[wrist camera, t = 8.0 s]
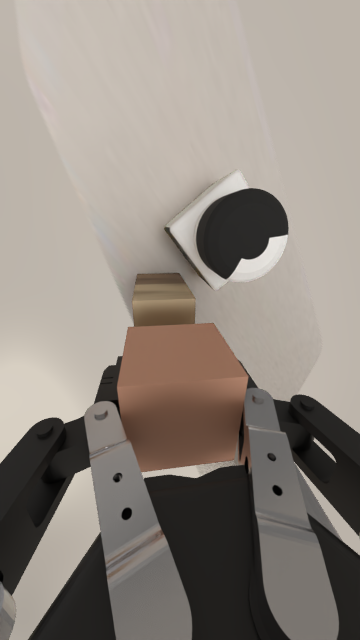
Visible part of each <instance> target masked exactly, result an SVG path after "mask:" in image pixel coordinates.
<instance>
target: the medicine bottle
mask: <svg viewBox="0 0 360 640" xmlns="http://www.w3.org/2000/svg"><path fill="white" fill-rule="evenodd" d="M164 229H165V231H166V232H167V233H168V235H169V236H170V237H171V239H172V240H173V241H174V243H175V244H176V245H177V247H178V248H179V249H180V251H181V252H182V253H183V255H184V256H185V257H186V259H187V260H188V261H189V263H190V264H191V266H192V267H193V268H194V270H195V271H196V272H197V274H198V275H199V276H200V277H201V278H202V279H203V280H204V281H205V282H206V283H207V284H208V285H209V286H210V287H211V288H212V289H213V290H218V289H220V288H221V287H222V286H224V285H225V284H226V283H227V282H229V281H231V282H236V283H244V282H250V281H253V280H256V279H258V278H260V277H262V276H263V275H265V274H266V273H268V272H269V271H270V270H271V269H272V268H273V267H274V266H275V265H276V263H277V262H278V261H279V259H280V257H281V256H282V254H283V252H284V249H285V247H286V243H287V239H288V220H287V216H286V213H285V210H284V208H283V206H282V205H281V203H280V202H279V201H278V200H277V199H276V198H275V197H274V196H273V195H272V194H270V193H268V192H266V191H264V190H260V189H254V188H249V186H248V184H247V182H246V180H245V178H244V176H243V174H242V172H241V171H240V170H235V171H233V172H232V173H230V174H228V175H227V176H225V177H224V178H222V179H220V180H219V181H217V182H215V183H214V184H212V185H211V186H210V187H209V188H208V189H207V190H205V191H204V192H203V193H202V194H201V195H200V196H198V197H197V198H196V199H195V200H194V201H193V202H192V203H190V204H189V205H188V206H187V207H186V208H185V209H184V210H182V211H181V212H180V213H179V214H178V215H177V216H176V217H174V218H173V219H172V220H171V221H170V222H169V223H167V224H166V225H165V228H164Z"/></svg>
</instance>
